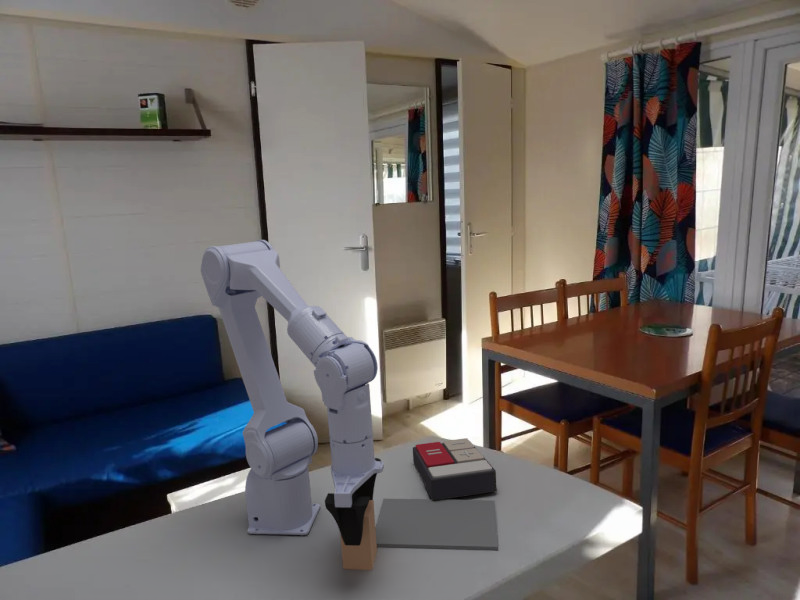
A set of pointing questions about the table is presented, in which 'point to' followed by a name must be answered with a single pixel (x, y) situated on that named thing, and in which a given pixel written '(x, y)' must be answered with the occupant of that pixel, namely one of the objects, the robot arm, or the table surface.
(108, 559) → the table surface
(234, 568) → the table surface
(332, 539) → the table surface
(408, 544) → the mat
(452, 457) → the calculator
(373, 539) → the block
